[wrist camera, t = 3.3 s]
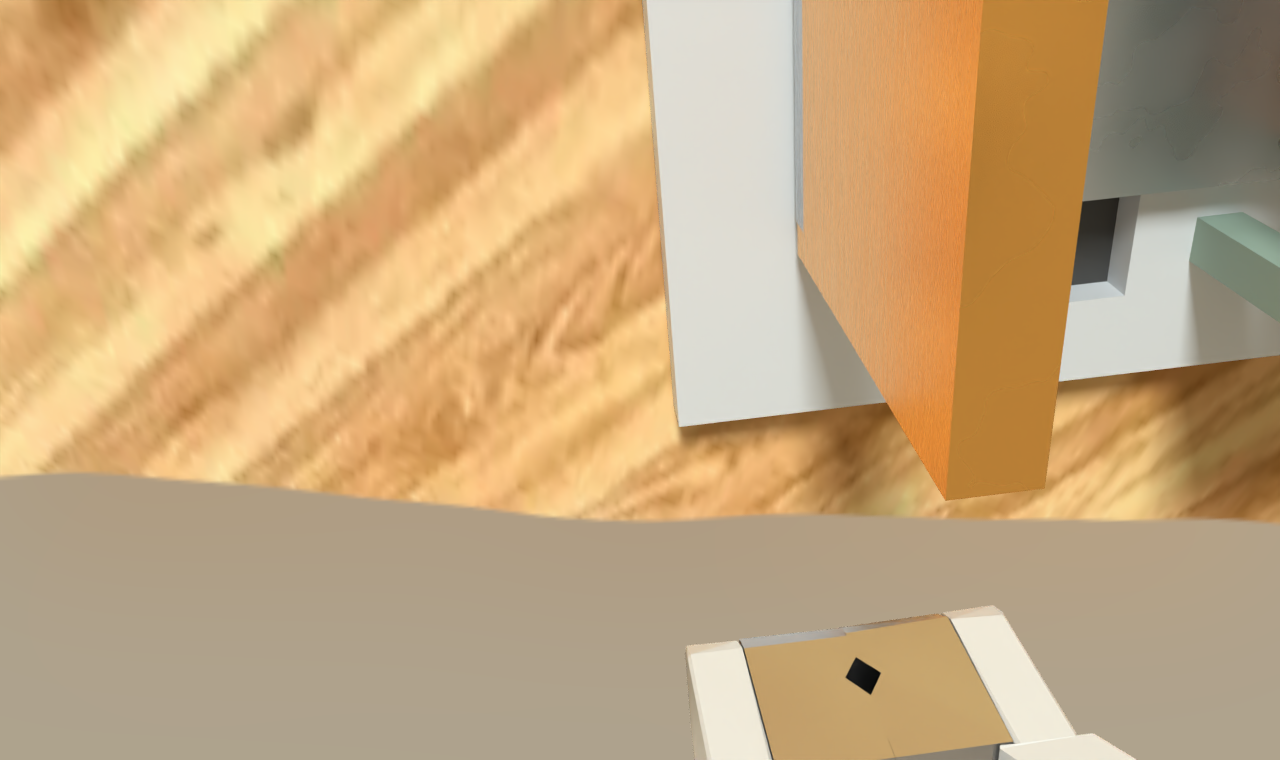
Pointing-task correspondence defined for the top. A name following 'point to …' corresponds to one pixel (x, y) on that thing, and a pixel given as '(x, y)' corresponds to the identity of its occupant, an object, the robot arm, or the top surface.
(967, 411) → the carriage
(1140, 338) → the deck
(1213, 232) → the tunnel
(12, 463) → the top surface
